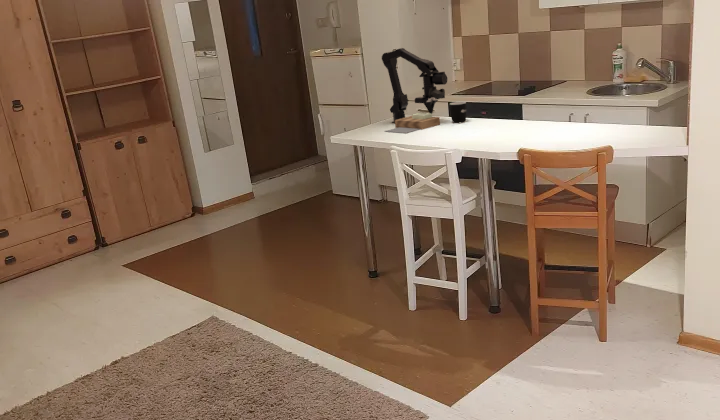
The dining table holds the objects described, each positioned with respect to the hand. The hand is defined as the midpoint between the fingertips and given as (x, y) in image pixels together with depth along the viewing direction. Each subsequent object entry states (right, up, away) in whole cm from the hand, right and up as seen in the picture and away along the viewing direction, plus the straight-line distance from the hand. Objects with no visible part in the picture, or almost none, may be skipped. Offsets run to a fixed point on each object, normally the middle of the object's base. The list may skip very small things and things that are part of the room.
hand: (431, 113), depth 362 cm
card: (-5, -3, -4) cm, 7 cm away
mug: (+16, -5, -4) cm, 17 cm away
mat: (-16, -11, -13) cm, 23 cm away
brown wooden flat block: (-8, -7, -4) cm, 12 cm away
